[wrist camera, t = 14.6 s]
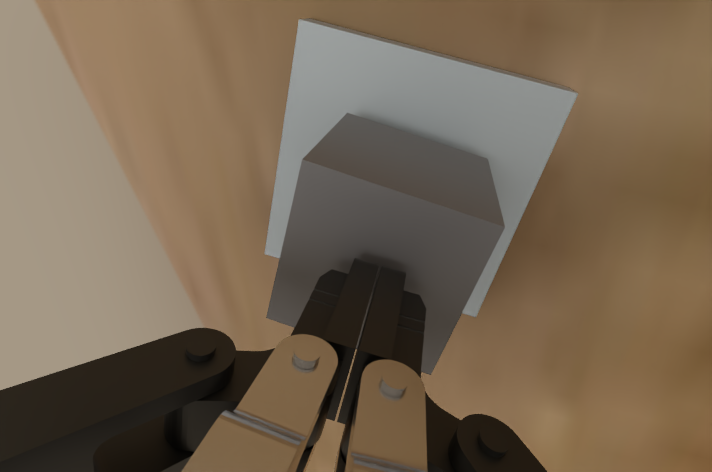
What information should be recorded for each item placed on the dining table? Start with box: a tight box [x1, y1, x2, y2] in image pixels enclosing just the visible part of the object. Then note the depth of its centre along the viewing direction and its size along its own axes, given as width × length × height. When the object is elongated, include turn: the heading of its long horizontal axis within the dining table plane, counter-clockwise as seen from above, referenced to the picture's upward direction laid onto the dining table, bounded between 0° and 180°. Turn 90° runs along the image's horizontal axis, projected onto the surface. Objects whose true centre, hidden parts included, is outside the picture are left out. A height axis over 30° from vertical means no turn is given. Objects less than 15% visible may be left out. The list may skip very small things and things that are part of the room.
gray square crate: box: [266, 113, 505, 375], centre depth 16 cm, size 6×6×6 cm
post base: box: [265, 18, 578, 317], centre depth 17 cm, size 11×11×8 cm
